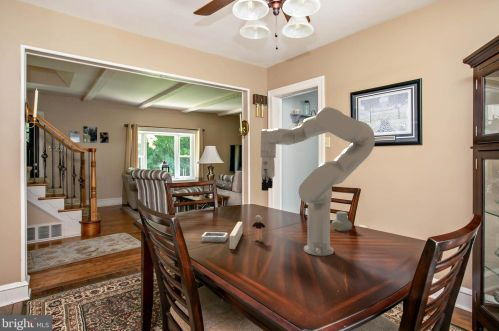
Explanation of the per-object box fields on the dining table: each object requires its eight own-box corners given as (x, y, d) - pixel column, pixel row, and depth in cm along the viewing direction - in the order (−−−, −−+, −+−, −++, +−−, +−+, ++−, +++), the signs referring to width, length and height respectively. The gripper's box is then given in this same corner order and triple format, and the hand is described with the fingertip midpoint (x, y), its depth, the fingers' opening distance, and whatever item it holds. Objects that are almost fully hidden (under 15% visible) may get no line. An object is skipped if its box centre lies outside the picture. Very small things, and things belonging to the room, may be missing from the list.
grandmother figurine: (250, 241, 132) (250, 215, 132) (251, 239, 136) (251, 214, 136) (266, 242, 131) (266, 216, 131) (266, 239, 135) (266, 214, 134)
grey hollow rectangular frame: (224, 242, 131) (224, 237, 131) (201, 241, 133) (201, 236, 133) (227, 237, 139) (227, 232, 139) (205, 236, 140) (205, 232, 140)
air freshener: (329, 229, 154) (329, 211, 154) (336, 226, 160) (337, 210, 159) (347, 233, 146) (347, 215, 146) (354, 230, 151) (354, 212, 151)
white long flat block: (234, 249, 122) (234, 235, 121) (229, 248, 122) (229, 235, 122) (242, 232, 148) (242, 221, 147) (238, 232, 148) (238, 221, 148)
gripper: (271, 155, 125) (270, 192, 125) (278, 154, 141) (277, 187, 142) (256, 154, 127) (255, 191, 128) (264, 154, 143) (263, 186, 144)
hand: (267, 189), depth 135 cm, fingers open, 9 cm apart
